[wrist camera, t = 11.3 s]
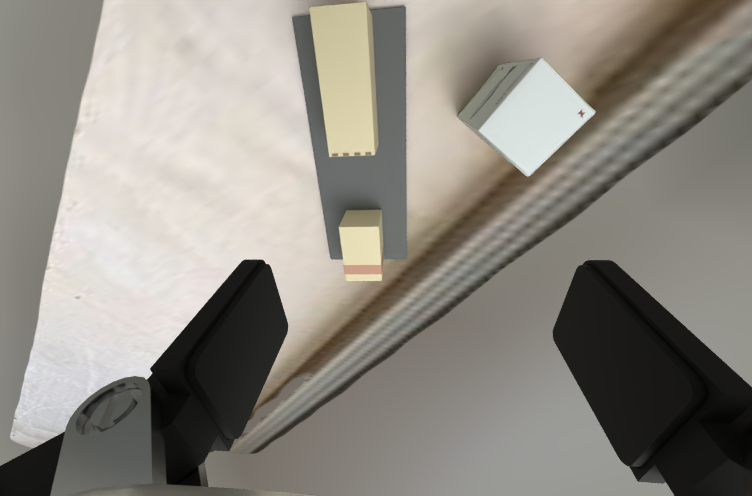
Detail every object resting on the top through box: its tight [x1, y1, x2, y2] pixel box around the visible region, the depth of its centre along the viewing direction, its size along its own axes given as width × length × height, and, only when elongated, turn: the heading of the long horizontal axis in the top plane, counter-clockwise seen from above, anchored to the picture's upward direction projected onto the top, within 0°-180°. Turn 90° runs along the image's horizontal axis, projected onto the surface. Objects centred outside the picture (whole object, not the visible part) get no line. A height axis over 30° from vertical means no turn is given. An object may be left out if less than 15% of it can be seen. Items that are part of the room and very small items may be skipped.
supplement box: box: [457, 58, 596, 176], centre depth 31 cm, size 7×7×13 cm
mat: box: [292, 7, 407, 259], centre depth 41 cm, size 33×13×1 cm, turn 3°
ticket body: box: [309, 2, 379, 157], centre depth 33 cm, size 14×6×6 cm, turn 3°
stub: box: [339, 210, 384, 281], centre depth 43 cm, size 9×6×6 cm, turn 3°
